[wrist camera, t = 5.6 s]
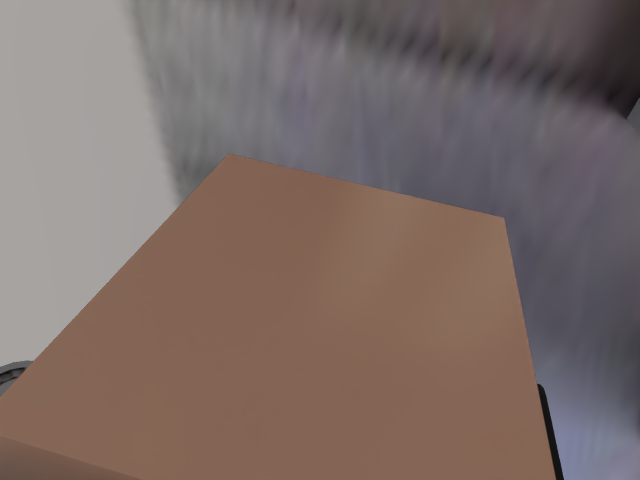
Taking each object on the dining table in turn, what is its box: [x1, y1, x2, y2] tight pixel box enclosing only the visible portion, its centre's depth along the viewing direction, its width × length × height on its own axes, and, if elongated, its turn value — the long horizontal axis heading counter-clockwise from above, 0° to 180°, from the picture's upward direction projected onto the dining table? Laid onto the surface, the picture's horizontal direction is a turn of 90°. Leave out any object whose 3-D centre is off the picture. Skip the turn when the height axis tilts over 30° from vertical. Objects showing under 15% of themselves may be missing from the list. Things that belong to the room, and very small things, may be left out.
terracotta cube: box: [0, 154, 556, 480], centre depth 9 cm, size 6×6×7 cm
